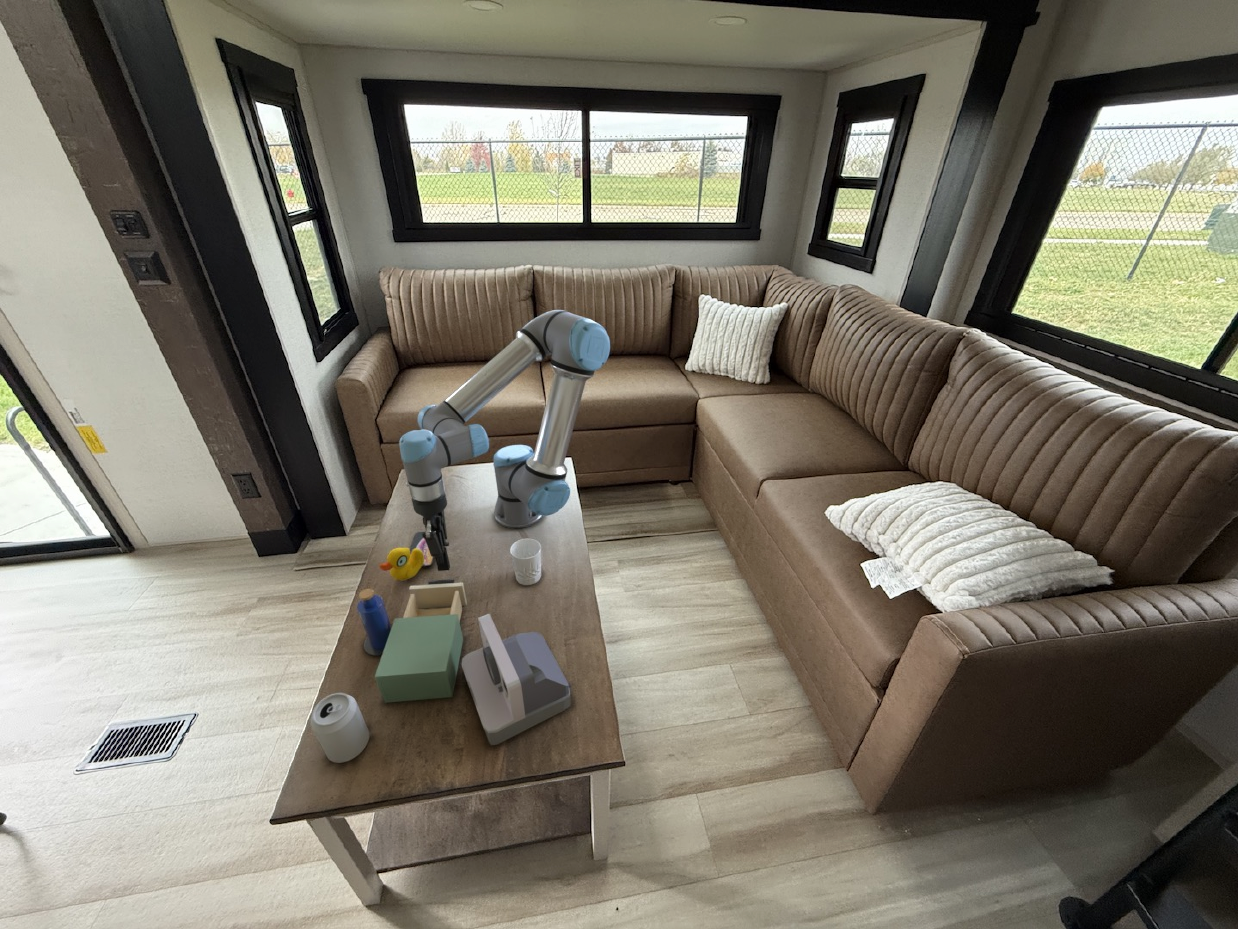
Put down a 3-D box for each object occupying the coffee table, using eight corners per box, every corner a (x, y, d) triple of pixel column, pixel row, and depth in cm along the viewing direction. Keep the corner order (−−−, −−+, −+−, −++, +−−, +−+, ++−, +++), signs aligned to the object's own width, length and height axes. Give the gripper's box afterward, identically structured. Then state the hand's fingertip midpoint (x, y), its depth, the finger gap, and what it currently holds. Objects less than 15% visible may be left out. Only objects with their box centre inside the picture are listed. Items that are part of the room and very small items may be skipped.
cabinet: (402, 644, 114) (394, 618, 110) (463, 639, 116) (457, 614, 111) (384, 703, 102) (374, 677, 97) (452, 697, 103) (445, 671, 99)
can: (336, 727, 97) (318, 690, 91) (376, 724, 98) (360, 687, 92) (320, 767, 91) (299, 730, 85) (362, 764, 92) (345, 726, 85)
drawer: (419, 593, 126) (414, 573, 123) (469, 589, 128) (465, 570, 124) (401, 651, 111) (394, 631, 108) (458, 647, 113) (453, 626, 109)
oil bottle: (397, 630, 117) (382, 583, 109) (391, 648, 113) (375, 601, 105) (374, 632, 116) (357, 585, 108) (367, 650, 112) (349, 603, 104)
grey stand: (462, 662, 110) (451, 615, 103) (552, 636, 117) (549, 590, 109) (474, 753, 94) (462, 706, 86) (579, 717, 100) (577, 670, 92)
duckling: (394, 594, 127) (384, 567, 121) (382, 584, 130) (372, 557, 124) (431, 568, 135) (424, 541, 129) (419, 559, 137) (411, 532, 132)
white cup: (537, 589, 129) (535, 560, 124) (509, 584, 131) (505, 556, 125) (547, 568, 136) (545, 540, 131) (520, 564, 137) (516, 536, 132)
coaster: (370, 628, 118) (370, 627, 118) (405, 626, 119) (405, 625, 118) (359, 657, 111) (358, 656, 111) (396, 654, 112) (396, 653, 112)
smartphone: (441, 530, 147) (431, 565, 135) (442, 532, 148) (432, 567, 135) (415, 531, 146) (403, 567, 134) (416, 534, 147) (403, 569, 134)
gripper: (418, 479, 121) (434, 552, 133) (404, 511, 110) (423, 588, 122) (449, 478, 122) (463, 551, 134) (439, 509, 111) (454, 586, 123)
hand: (444, 568), depth 128 cm, fingers closed
